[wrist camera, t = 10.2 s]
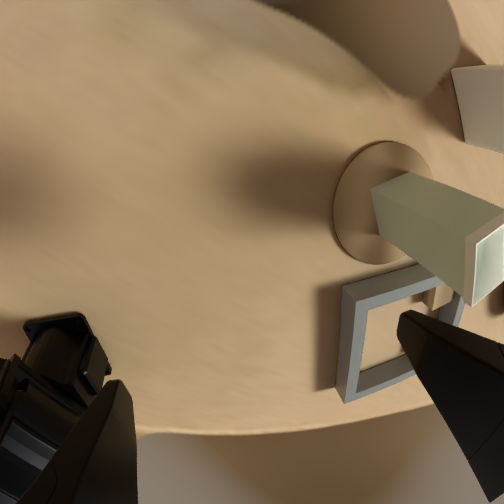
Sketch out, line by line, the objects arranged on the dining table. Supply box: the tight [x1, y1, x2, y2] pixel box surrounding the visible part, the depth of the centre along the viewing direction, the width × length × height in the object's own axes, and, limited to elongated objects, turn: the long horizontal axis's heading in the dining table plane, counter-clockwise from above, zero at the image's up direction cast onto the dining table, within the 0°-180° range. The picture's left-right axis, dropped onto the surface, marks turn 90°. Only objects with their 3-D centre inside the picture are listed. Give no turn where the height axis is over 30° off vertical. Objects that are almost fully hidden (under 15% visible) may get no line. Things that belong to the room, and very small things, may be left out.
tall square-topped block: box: [370, 172, 504, 307], centre depth 17 cm, size 4×4×10 cm
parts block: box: [422, 284, 454, 311], centre depth 27 cm, size 3×3×2 cm
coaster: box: [333, 142, 433, 265], centre depth 22 cm, size 10×10×1 cm
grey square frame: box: [335, 264, 465, 404], centre depth 27 cm, size 14×13×2 cm
